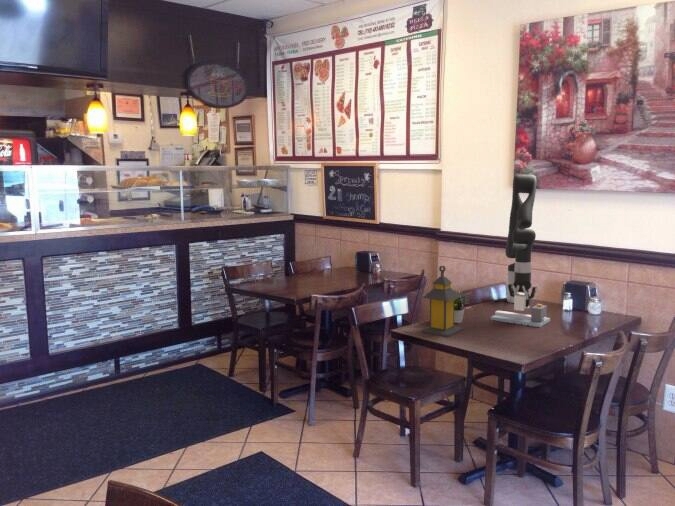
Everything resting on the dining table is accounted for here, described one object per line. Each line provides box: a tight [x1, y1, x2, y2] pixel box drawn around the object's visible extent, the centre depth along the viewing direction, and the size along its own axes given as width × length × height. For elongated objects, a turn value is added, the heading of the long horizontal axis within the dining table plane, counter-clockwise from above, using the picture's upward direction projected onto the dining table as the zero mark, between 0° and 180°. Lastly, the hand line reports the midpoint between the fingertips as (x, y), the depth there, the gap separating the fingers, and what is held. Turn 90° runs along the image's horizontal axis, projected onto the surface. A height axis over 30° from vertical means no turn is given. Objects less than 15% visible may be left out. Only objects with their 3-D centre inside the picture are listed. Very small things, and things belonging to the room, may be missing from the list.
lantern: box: [421, 265, 463, 338], centre depth 271 cm, size 14×14×30 cm
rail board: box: [490, 303, 551, 328], centre depth 288 cm, size 14×24×9 cm, turn 52°
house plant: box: [454, 288, 472, 324], centre depth 286 cm, size 14×14×16 cm
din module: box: [513, 293, 530, 312], centre depth 287 cm, size 8×4×7 cm, turn 142°
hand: (521, 306), depth 288 cm, fingers closed on din module, 4 cm apart
